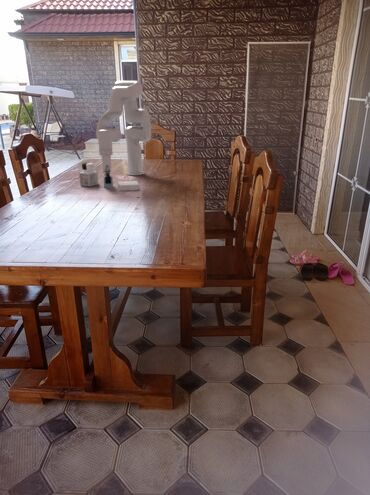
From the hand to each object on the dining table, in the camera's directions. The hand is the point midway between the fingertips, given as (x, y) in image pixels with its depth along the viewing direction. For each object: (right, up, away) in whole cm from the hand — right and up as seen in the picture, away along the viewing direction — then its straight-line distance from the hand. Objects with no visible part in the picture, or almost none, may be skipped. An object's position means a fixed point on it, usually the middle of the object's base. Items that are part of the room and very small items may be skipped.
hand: (107, 182), depth 218 cm
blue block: (0, -3, +1) cm, 3 cm away
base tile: (+12, -4, -3) cm, 13 cm away
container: (-12, -1, +6) cm, 14 cm away
